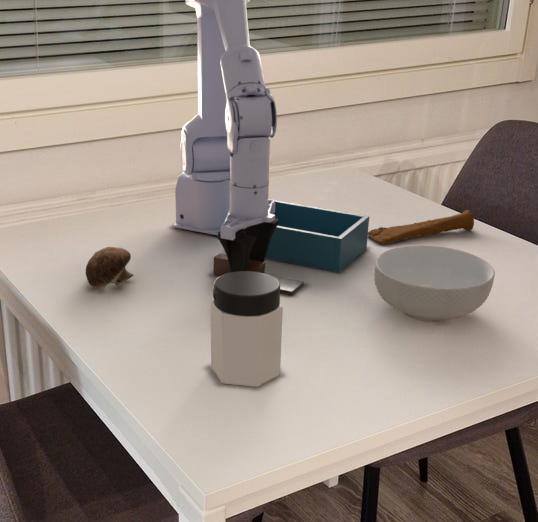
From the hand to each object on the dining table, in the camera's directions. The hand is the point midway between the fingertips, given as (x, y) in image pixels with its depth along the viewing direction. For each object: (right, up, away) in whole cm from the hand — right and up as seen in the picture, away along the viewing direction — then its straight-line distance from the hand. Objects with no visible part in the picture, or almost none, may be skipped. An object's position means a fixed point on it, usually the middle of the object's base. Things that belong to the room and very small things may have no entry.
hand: (247, 271), depth 148 cm
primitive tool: (+30, +10, +20) cm, 37 cm away
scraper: (+1, -2, 0) cm, 2 cm away
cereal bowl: (+26, -8, -8) cm, 29 cm away
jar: (0, -18, -25) cm, 31 cm away
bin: (+8, +6, +12) cm, 16 cm away
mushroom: (-21, -3, -2) cm, 21 cm away
